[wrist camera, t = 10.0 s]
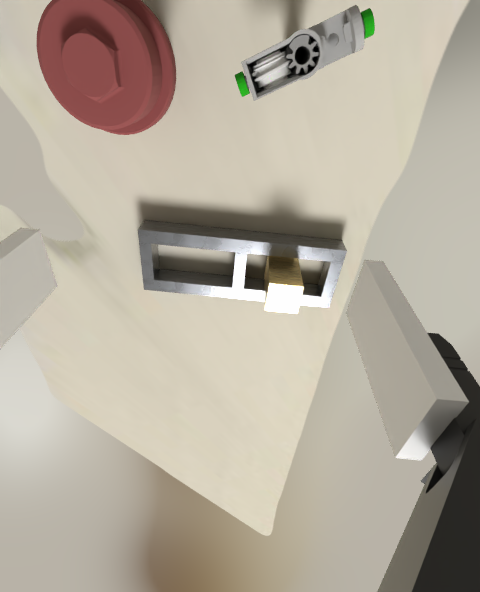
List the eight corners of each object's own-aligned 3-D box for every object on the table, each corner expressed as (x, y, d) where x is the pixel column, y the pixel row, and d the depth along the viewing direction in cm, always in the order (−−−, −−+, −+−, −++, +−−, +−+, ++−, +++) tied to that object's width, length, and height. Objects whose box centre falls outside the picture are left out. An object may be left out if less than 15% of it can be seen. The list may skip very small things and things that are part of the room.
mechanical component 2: (208, 51, 32) (162, 142, 37) (113, -29, 29) (77, 81, 34) (185, 43, 22) (126, 169, 27) (35, -81, 19) (0, 87, 24)
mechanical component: (347, 51, 31) (378, 45, 23) (248, 97, 34) (245, 107, 26) (340, 13, 30) (371, -7, 22) (237, 65, 32) (230, 64, 24)
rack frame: (144, 220, 42) (137, 229, 40) (341, 240, 43) (346, 250, 40) (149, 278, 47) (144, 289, 45) (325, 295, 48) (329, 308, 45)
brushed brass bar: (268, 251, 44) (269, 283, 38) (297, 254, 44) (303, 286, 38) (264, 276, 46) (264, 310, 40) (291, 279, 46) (297, 313, 40)
